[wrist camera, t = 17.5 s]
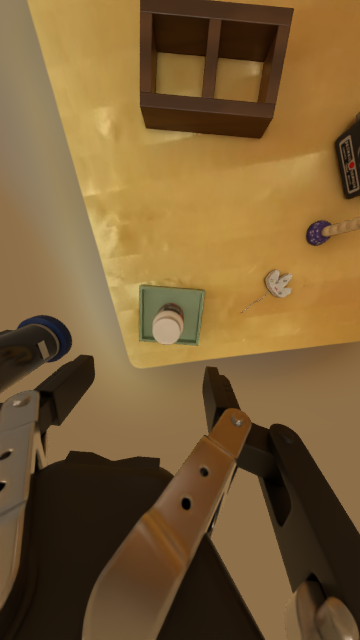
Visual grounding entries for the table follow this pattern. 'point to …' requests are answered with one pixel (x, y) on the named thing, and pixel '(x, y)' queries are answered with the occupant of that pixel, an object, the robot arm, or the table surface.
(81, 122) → the table surface
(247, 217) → the table surface
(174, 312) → the pill bottle
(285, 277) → the game controller
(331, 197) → the table surface
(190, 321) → the tray
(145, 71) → the rack
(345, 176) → the camera
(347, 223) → the toy lamp
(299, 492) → the robot arm
